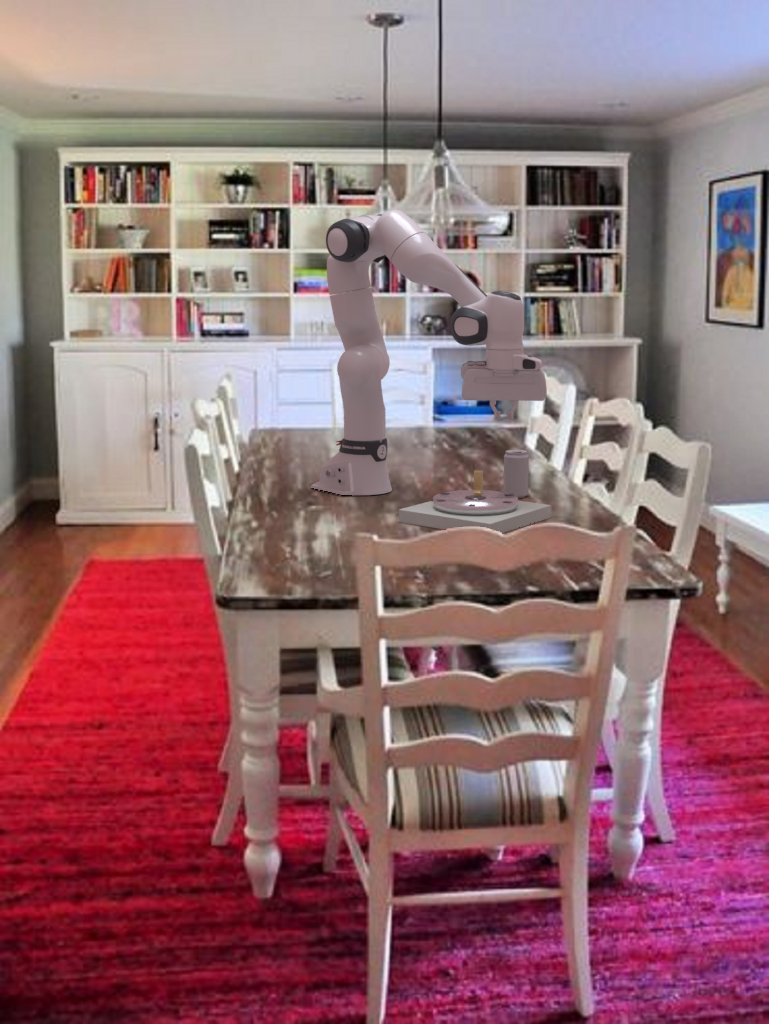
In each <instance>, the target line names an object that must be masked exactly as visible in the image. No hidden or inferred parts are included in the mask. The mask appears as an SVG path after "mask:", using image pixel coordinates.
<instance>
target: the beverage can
mask: <svg viewBox="0 0 769 1024" xmlns="http://www.w3.org/2000/svg"><path fill="white" fill-rule="evenodd" d="M529 459H530V456H529V454H528V451H527V450H526V449H508V450H505V454H504V455H503V492H505V493H509V494H514V495H515V496H517V497H518V499H522V498H523V499H524V498H526V496H527V495H528V494H529V469H530V467H529V465H530V464H529V463H530V460H529Z"/></svg>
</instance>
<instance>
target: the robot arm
mask: <svg viewBox="0 0 769 1024" xmlns="http://www.w3.org/2000/svg"><path fill="white" fill-rule="evenodd" d="M325 245H326V248H327V251H328V253H329V256H328V257H327V260H326V279H327V288H328V289H327V290H328V293H329V300H330V304H331V305H330V306H331V309H332V310H331V311H332V316H333V322H334V326H335V327H336V330H337V332H338V334H339V337H340V340H341V343H342V346H343V349H344V351H343V353H342V354H341V355H340V357H339V360H338V362H337V367H336V370H337V371H336V372H337V375H338V378H339V379H338V380H339V386H340V388H339V389H340V395H341V400H342V406H343V407H342V408H343V438H342V439H341V440H336V441H335V442H336V444H335V445H336V446H339V449H338V452H337V453H336V454H335V455H334V456H332V457H331V458H330V459H329V460H327V461H326V462H325V463H324V464H322V466H321V468H320V472H319V473H320V474H319V481H316V482H314V483H312V484H311V487H310V488H314V489H313V490H315V489H318V490H317V491H320V490H323V491H322V492H324V491H328V492H332V493H336V494H335V495H337V494H341V495H352V496H372V495H373V496H374V495H382V494H387V493H390V492H392V491H393V488H392V485H391V480H390V476H389V470H388V469H389V468H388V462H387V458H388V457H387V456H388V438H387V437H386V433H387V431H386V429H387V428H386V427H387V426H386V424H387V423H386V420H387V419H386V407H385V403H384V402H385V401H384V396H383V389H382V380H383V379H384V378H385V377H386V376H387V374H388V372H389V370H390V363H391V362H390V356H389V353H388V351H387V348H386V347H387V346H386V344H385V339H384V336H383V332H382V329H381V327H380V324H379V321H378V318H377V312H376V306H375V301H374V295H373V290H372V285H371V280H370V276H369V275H370V274H369V268H370V266H371V264H372V262H375V263H379V262H381V261H382V260H384V259H385V258H387V259H388V260H389V261H390V262H391V264H392V265H393V267H395V269H396V270H397V271H398V272H399V273H400V275H402V276H403V277H405V278H406V279H407V280H408V281H411V283H414V284H419V285H423V286H428V287H431V288H435V289H439V290H440V291H443V292H445V293H447V294H448V295H449V296H451V297H452V298H453V299H454V300H455V301H456V302H457V303H458V304H459V305H460V306H461V307H459V308H457V309H456V310H455V311H454V313H453V314H452V315H451V319H450V323H449V329H450V333H451V335H452V336H451V337H453V339H454V341H455V342H457V343H458V344H459V345H462V346H467V347H473V346H485V348H486V349H485V353H486V354H485V360H476V361H474V360H468V361H467V362H465V363H463V364H462V365H461V367H460V376H461V378H462V379H463V380H462V388H461V398H463V400H465V401H489V406H490V407H491V410H492V411H493V413H494V414H493V418H494V420H501V419H502V418H501V417H502V416H501V414H502V411H500V410H498V409H497V407H496V404H497V401H511V405H512V406H513V407H512V408H511V410H509V411H507V412H506V419H507V420H514V413H515V412H516V409H517V408H518V406H519V401H521V402H522V401H525V402H530V401H532V402H534V401H535V402H543V401H545V400H546V399H547V396H548V395H547V394H548V391H547V390H548V389H547V388H548V387H547V381H546V374H545V373H544V371H543V370H542V367H543V361H542V360H541V359H540V358H537V357H534V356H532V355H530V354H529V355H528V354H525V353H524V343H523V335H524V332H525V313H524V305H523V304H524V303H523V300H522V298H521V297H520V296H519V295H517V294H516V293H513V292H510V291H501V290H494V291H491V292H489V293H488V295H487V294H486V292H484V291H483V289H481V288H480V287H479V286H478V285H477V284H476V282H474V281H473V280H472V278H470V277H469V276H468V274H466V273H465V271H463V270H462V269H461V268H460V267H459V266H458V265H457V264H455V262H454V261H452V260H451V258H450V257H448V255H447V254H445V253H444V252H443V251H442V250H441V248H440V247H439V246H437V244H436V243H435V242H434V241H433V240H432V239H431V237H430V236H429V235H428V234H427V232H426V231H424V229H423V228H422V227H421V226H420V225H419V224H418V223H417V222H416V221H415V220H414V219H412V218H411V216H408V214H406V213H405V212H403V211H401V210H399V209H391V210H388V211H386V212H384V213H382V214H367V215H366V214H363V215H359V216H355V217H351V218H343V219H341V220H337V221H335V222H334V223H332V224H331V225H329V228H328V229H327V231H326V235H325ZM328 492H327V493H328ZM332 493H331V494H332ZM341 495H340V496H341Z"/></svg>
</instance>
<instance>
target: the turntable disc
mask: <svg viewBox="0 0 769 1024" xmlns="http://www.w3.org/2000/svg"><path fill="white" fill-rule="evenodd" d="M432 500H433V507H434V508H435V509H437V510H439V511H443V512H447V513H453V514H464V515H491V514H501V513H507V512H511V511H514V510H516V509H517V508H518V501H519V498H518V497H517V496H515V495H514V494H509V493H505V492H504V491H497V490H485V489H484V470H483V469H480V470H479V469H475V470H474V471H473V489H461V490H460V489H459V490H451V491H443V492H440V493H437V494H435V495H434V496H433V498H432Z"/></svg>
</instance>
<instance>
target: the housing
mask: <svg viewBox="0 0 769 1024" xmlns="http://www.w3.org/2000/svg"><path fill="white" fill-rule="evenodd" d="M550 518H552V504H546V503H538V502H531V501H524V500H523V501H522V500H518V508H517V509H516V510H514V511H511V512H507V513H501V514H491V515H464V514H453V513H447V512H443V511H439V510H437V509H435V508H434V507H433V499H432V500H429V501H425V502H422V503H418V504H415V505H414V504H413V505H410V506H408V507H403V508H399V509H398V523H401V524H409V525H414V526H415V525H416V526H420V527H426V528H433V529H440V530H444V529H447V528H453V527H463V526H480V527H487V528H490V529H494V530H496V531H500V532H502V534H504V533H507V532H510V531H514V530H516V529H520V528H523V527H526V526H529V525H533V524H534V522H535V524H537V523H539V522H541V521H545V520H548V519H550ZM538 521H539V522H538ZM530 523H531V524H530ZM519 527H520V528H519Z"/></svg>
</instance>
